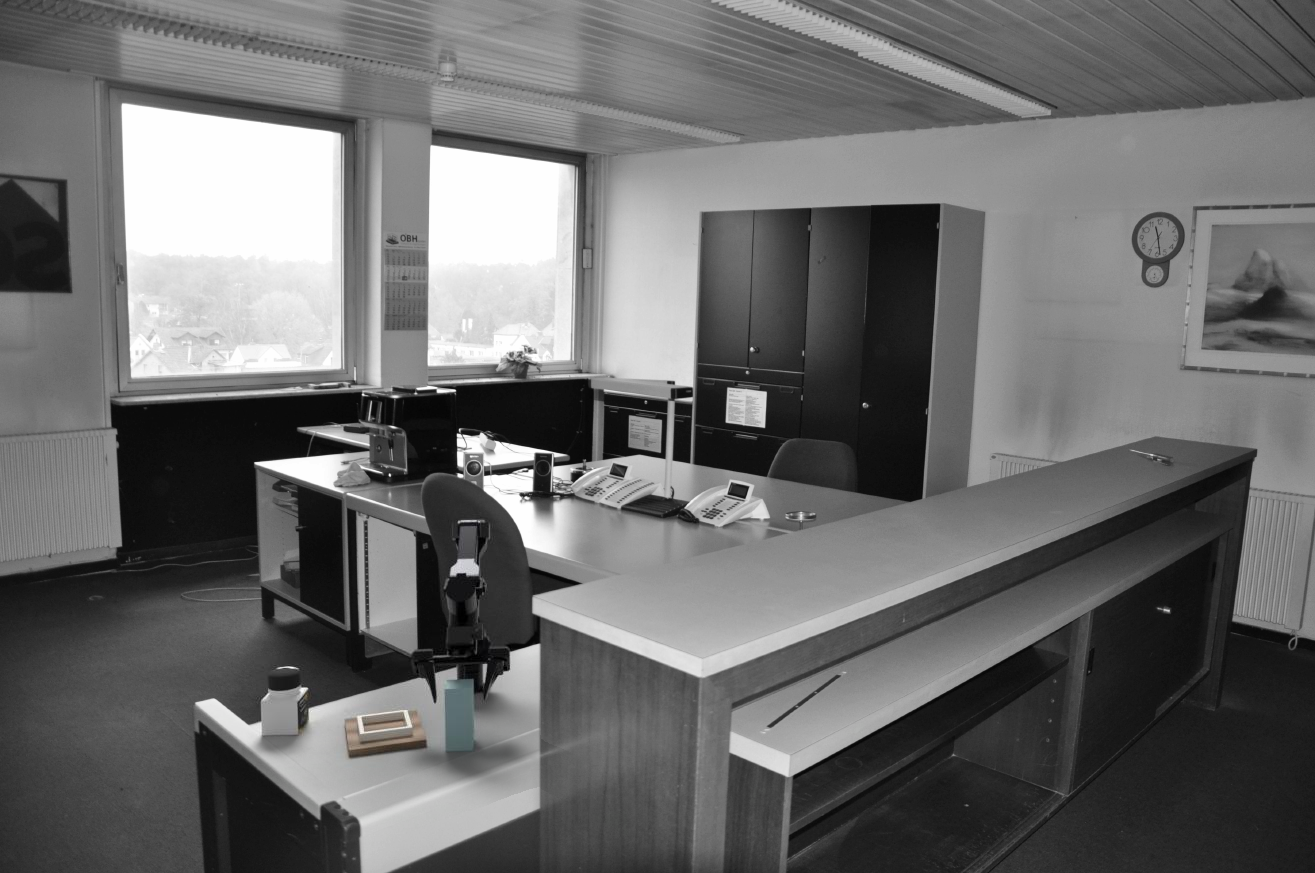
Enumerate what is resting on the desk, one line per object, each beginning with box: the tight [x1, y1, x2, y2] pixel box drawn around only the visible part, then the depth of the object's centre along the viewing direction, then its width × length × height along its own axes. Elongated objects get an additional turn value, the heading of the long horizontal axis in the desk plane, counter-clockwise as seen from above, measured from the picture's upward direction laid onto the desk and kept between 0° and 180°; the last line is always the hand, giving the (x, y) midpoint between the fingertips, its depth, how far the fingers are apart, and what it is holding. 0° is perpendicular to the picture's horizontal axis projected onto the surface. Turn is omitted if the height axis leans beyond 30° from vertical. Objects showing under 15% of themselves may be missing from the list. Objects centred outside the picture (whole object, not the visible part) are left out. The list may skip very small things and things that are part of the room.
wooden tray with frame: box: [344, 709, 428, 757], centre depth 185 cm, size 16×14×3 cm
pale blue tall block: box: [444, 679, 475, 752], centre depth 180 cm, size 5×5×12 cm
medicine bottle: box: [260, 666, 310, 737], centre depth 188 cm, size 7×7×12 cm
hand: (459, 701), depth 181 cm, fingers open, 9 cm apart
